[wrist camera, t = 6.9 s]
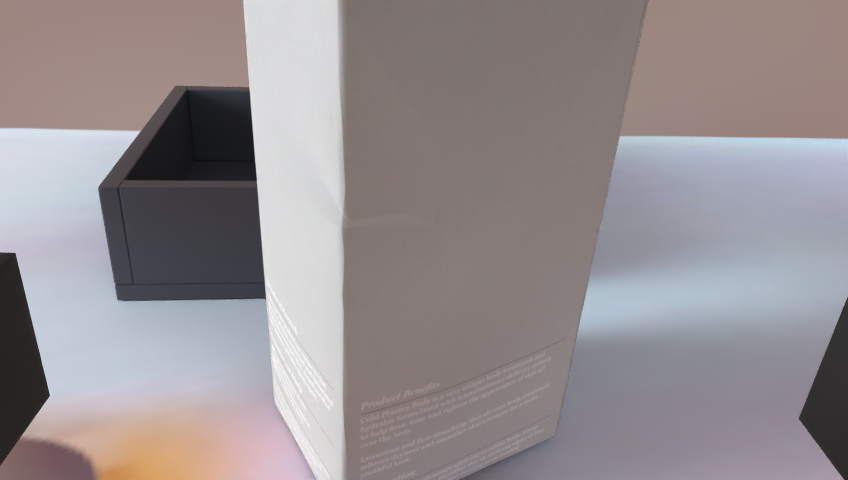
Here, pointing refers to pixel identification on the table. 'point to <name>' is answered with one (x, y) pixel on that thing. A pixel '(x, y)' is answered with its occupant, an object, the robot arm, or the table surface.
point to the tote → (187, 202)
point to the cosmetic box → (430, 218)
